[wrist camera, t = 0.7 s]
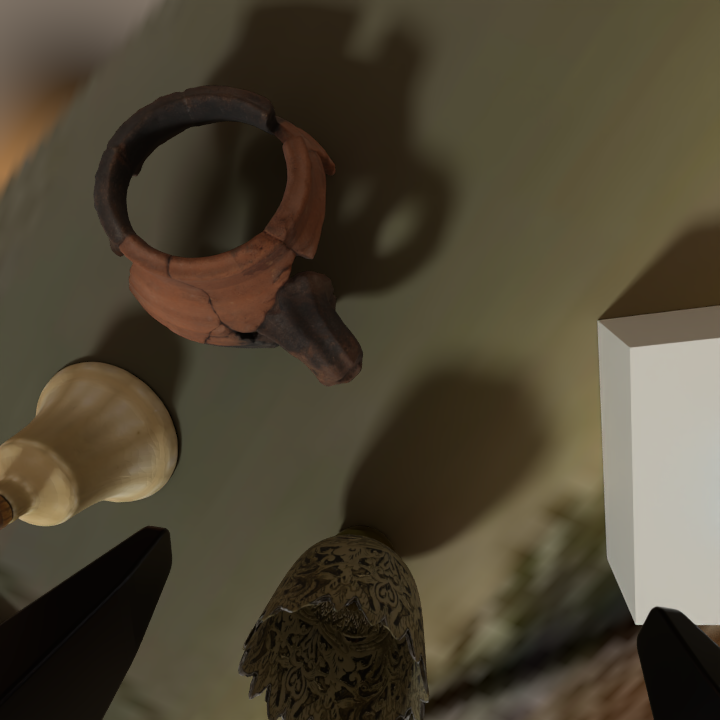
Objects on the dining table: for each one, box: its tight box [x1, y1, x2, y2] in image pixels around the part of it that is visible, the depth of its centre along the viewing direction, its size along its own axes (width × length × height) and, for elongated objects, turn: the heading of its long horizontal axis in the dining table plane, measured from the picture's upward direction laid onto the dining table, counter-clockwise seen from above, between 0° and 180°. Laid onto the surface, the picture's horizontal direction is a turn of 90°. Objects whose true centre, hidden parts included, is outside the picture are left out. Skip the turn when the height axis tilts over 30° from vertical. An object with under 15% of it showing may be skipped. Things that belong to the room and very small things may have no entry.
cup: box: [238, 526, 429, 720], centre depth 23 cm, size 8×7×8 cm
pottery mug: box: [94, 85, 363, 386], centre depth 20 cm, size 12×10×8 cm
